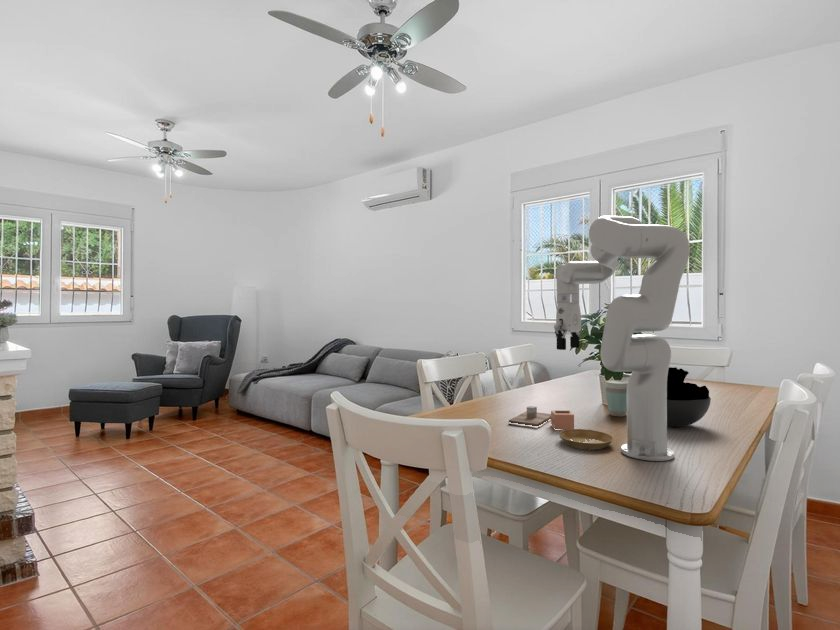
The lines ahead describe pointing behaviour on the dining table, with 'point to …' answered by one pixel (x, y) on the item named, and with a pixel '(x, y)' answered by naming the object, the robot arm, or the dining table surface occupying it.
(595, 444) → the plant saucer
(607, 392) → the coffee cup
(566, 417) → the salmon pink cube
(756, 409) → the dining table surface
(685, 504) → the dining table surface
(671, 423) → the coal bowl
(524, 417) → the base
